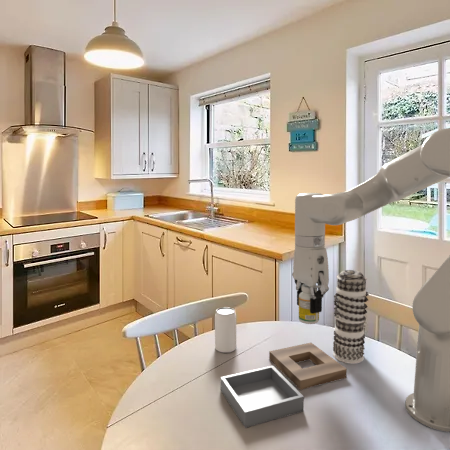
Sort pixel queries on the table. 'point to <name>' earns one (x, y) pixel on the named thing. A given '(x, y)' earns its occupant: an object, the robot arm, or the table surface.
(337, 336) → the decorative candle
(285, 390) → the tray
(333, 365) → the brown wooden square frame
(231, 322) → the can
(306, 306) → the supplement bottle
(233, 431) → the table surface
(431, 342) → the robot arm
